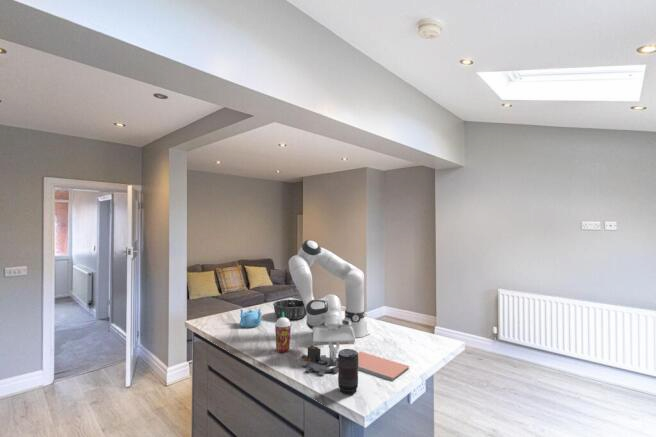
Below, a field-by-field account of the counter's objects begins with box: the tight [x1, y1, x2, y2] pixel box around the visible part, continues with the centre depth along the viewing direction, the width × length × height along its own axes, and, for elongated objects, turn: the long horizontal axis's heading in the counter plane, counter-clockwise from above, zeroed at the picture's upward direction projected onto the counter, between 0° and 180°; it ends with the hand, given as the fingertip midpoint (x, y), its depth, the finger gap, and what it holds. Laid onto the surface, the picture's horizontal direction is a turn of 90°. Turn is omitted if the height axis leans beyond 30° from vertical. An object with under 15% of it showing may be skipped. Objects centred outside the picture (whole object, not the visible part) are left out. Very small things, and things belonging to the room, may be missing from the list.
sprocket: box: [302, 344, 339, 376], centre depth 151 cm, size 18×18×10 cm
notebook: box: [357, 351, 410, 382], centre depth 151 cm, size 27×17×2 cm, turn 51°
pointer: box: [300, 353, 308, 362], centre depth 159 cm, size 4×2×2 cm, turn 46°
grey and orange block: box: [307, 345, 321, 361], centre depth 155 cm, size 3×6×5 cm, turn 43°
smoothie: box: [274, 312, 292, 354], centre depth 169 cm, size 8×8×20 cm
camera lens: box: [337, 348, 359, 396], centre depth 129 cm, size 8×8×15 cm
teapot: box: [239, 307, 263, 329], centre depth 212 cm, size 15×15×10 cm
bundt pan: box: [272, 299, 307, 321], centre depth 234 cm, size 26×26×10 cm
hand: (334, 353), depth 151 cm, fingers closed
